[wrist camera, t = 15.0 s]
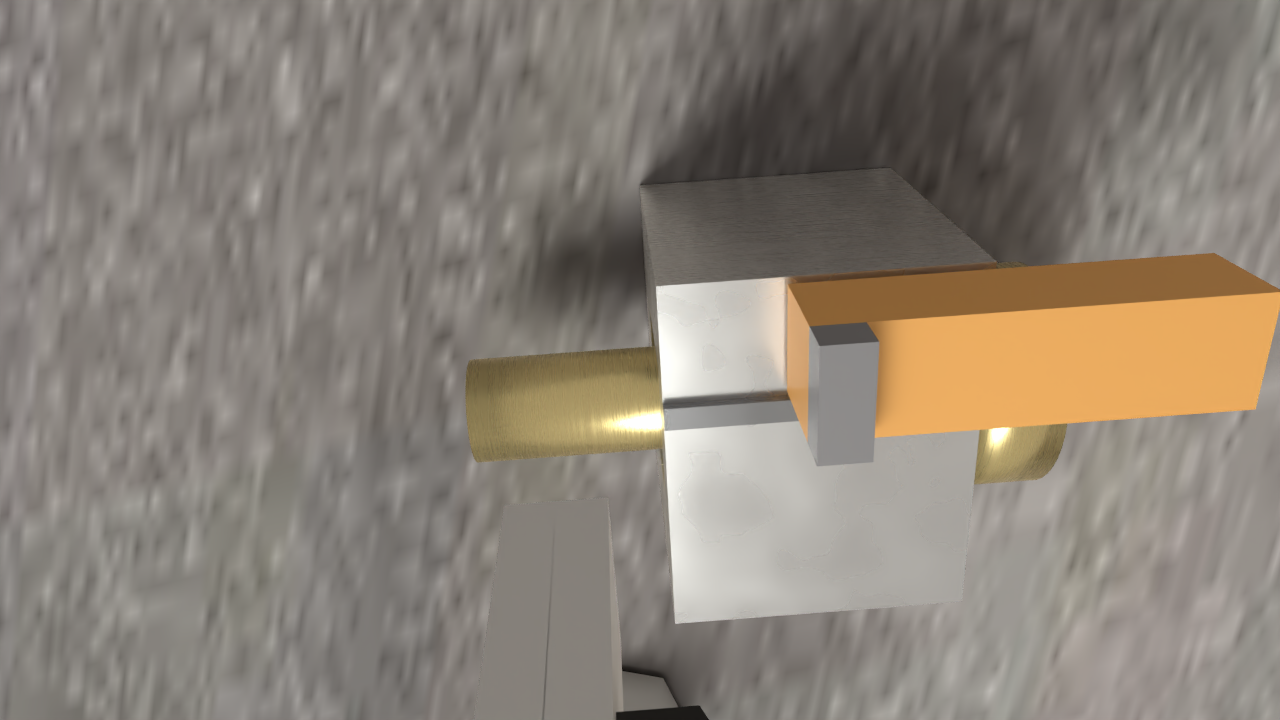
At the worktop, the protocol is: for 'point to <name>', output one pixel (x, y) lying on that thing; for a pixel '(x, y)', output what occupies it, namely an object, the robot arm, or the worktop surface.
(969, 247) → the block
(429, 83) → the worktop surface
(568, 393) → the pin
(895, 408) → the bar
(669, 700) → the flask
